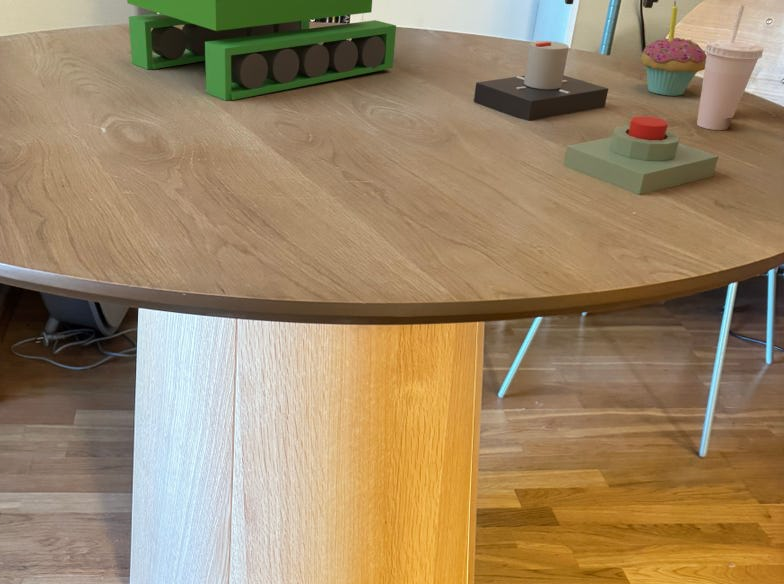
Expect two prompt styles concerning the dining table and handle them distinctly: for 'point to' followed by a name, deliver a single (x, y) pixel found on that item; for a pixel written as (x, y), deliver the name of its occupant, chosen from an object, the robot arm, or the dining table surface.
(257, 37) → the tank
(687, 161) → the switch block
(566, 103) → the timer panel
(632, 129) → the power button
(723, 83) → the smoothie
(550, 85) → the timer dial
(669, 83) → the cupcake
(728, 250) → the dining table surface
